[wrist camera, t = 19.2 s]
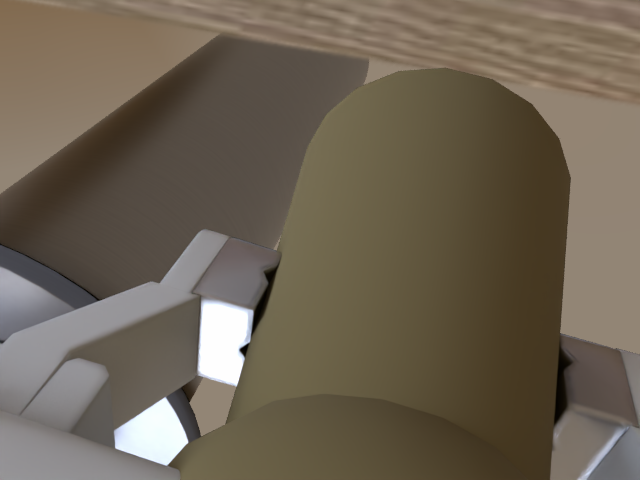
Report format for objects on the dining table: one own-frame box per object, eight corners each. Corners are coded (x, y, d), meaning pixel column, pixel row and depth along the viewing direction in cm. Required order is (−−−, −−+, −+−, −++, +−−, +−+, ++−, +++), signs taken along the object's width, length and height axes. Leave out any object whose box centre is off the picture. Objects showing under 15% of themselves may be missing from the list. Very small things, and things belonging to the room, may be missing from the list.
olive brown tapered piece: (273, 243, 15) (-35, 803, 6) (351, 20, 11) (-122, 616, 3) (486, 333, 15) (474, 1025, 6) (633, 138, 11) (1109, 1149, 3)
